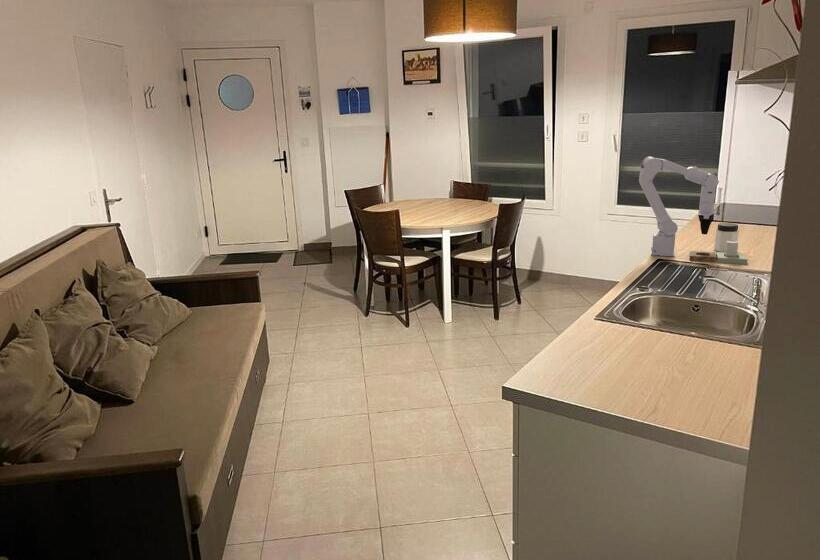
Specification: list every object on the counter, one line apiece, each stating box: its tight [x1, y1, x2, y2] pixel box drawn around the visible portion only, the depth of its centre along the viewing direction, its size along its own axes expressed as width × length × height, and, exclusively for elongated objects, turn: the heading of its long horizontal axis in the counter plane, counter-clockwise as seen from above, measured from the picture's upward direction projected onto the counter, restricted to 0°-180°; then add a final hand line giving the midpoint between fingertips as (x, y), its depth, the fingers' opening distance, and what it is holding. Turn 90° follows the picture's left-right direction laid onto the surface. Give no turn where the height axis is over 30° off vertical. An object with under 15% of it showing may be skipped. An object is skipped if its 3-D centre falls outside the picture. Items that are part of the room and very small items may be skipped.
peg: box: [724, 240, 739, 257], centre depth 258 cm, size 4×4×8 cm
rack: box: [715, 251, 748, 265], centre depth 259 cm, size 11×11×2 cm
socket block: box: [689, 250, 717, 263], centre depth 263 cm, size 10×10×2 cm
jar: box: [713, 222, 739, 253], centre depth 275 cm, size 9×8×12 cm
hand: (703, 232), depth 268 cm, fingers open, 7 cm apart
